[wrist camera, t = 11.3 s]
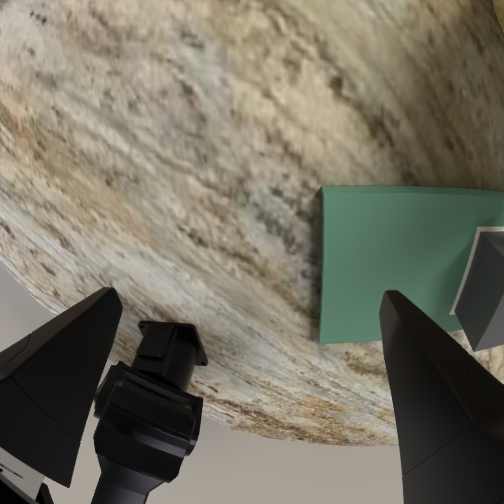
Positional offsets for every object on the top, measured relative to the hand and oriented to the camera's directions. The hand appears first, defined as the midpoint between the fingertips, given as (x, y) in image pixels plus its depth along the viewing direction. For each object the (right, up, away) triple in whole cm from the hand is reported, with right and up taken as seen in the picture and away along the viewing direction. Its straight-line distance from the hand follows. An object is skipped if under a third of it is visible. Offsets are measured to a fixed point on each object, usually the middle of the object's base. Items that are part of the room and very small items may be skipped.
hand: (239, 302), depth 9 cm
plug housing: (+20, +1, +9) cm, 22 cm away
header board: (+17, 0, +12) cm, 20 cm away
